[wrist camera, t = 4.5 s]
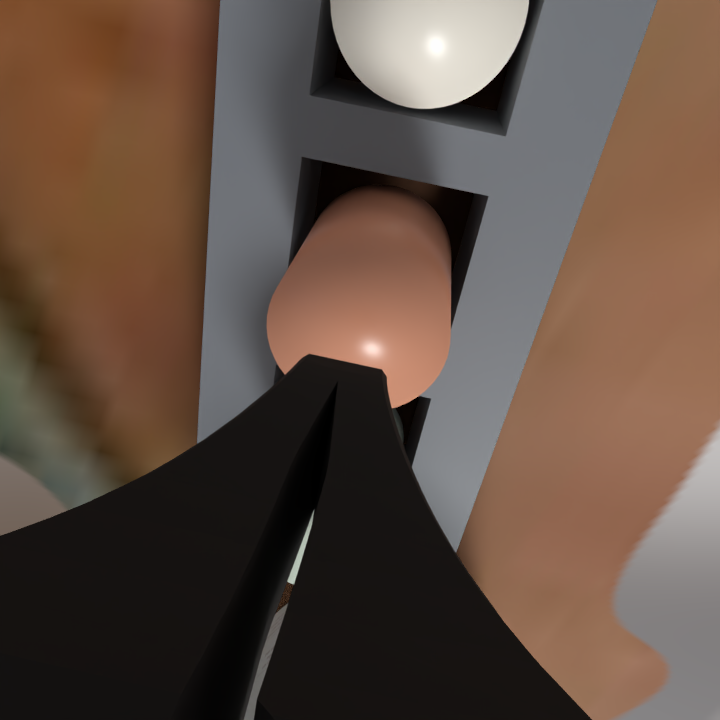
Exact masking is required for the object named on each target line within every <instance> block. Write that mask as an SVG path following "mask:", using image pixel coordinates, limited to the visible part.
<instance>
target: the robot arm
mask: <svg viewBox="0 0 720 720" xmlns="http://www.w3.org/2000/svg"><path fill="white" fill-rule="evenodd" d="M313 511H314V515H313V522H312V526H311V530H310V533H309V536H308V540H307V543H306V547H305V550H304V553H303V557H302V560H301V563H300V566H299V570H298V573H297V576H296V579H295V583H294V586H293V589H292V592H291V596H290V599H289V602H288V605H287V609H286V612H285V615H284V618H283V621H282V624H281V627H280V630H279V633H278V636H277V640H276V643H275V646H274V649H273V652H272V655H271V658H270V661H269V664H268V667H267V670H266V673H265V676H264V679H263V682H262V685H261V688H260V691H259V694H258V697H257V702H256V708H255V715H254V720H592V719H591V718H590V717H589V716H588V715H587V714H586V713H585V712H584V711H583V710H582V709H581V708H580V707H579V706H578V705H577V704H576V702H575V701H574V700H573V699H572V698H571V697H570V696H569V695H568V694H567V693H566V692H565V691H564V690H563V689H562V688H561V687H560V686H559V684H558V683H557V682H556V681H555V680H554V679H553V678H552V677H551V676H550V675H549V674H548V673H547V672H546V671H545V670H544V669H543V668H542V667H541V665H540V664H539V663H538V662H537V661H536V660H535V659H534V658H533V656H532V655H531V654H530V653H529V652H528V650H527V649H526V648H525V647H524V646H523V644H522V643H521V642H520V641H519V640H518V638H517V637H516V636H515V635H514V633H513V632H512V631H511V630H510V629H509V627H508V626H507V625H506V624H505V623H504V621H503V620H502V618H501V617H500V616H499V614H498V613H497V612H496V610H495V609H494V607H493V606H492V605H491V603H490V602H489V600H488V599H487V598H486V596H485V595H484V594H483V592H482V591H481V589H480V588H479V587H478V585H477V584H476V583H475V581H474V580H473V578H472V577H471V576H470V574H469V573H468V571H467V570H466V568H465V567H464V565H463V563H462V562H461V560H460V559H459V557H458V555H457V554H456V552H455V551H454V549H453V547H452V546H451V544H450V543H449V541H448V539H447V537H446V536H445V534H444V532H443V530H442V529H441V527H440V525H439V523H438V521H437V520H436V518H435V516H434V514H433V512H432V510H431V508H430V506H429V504H428V502H427V500H426V498H425V496H424V494H423V492H422V490H421V487H420V485H419V483H418V481H417V478H416V476H415V474H414V472H413V469H412V467H411V464H410V462H409V459H408V457H407V454H406V451H405V448H404V446H403V443H402V440H401V437H400V434H399V431H398V428H397V425H396V422H395V418H394V415H393V411H392V407H391V403H390V398H389V393H388V387H387V376H386V375H385V373H384V372H383V370H382V369H378V368H373V367H369V366H364V365H359V364H355V363H350V362H345V361H341V360H336V359H332V358H327V357H322V356H318V355H313V354H308V355H306V356H304V357H302V358H301V359H300V360H299V361H298V362H297V363H296V364H295V365H294V366H293V367H292V368H291V369H290V370H289V371H288V372H287V373H286V374H285V375H284V376H283V377H282V378H281V379H280V380H279V381H278V382H277V383H276V384H274V385H273V386H272V387H271V388H270V389H269V390H268V391H267V392H265V393H264V394H263V395H262V396H261V397H259V398H258V399H257V400H256V401H254V402H253V403H252V404H251V405H250V406H248V407H247V408H246V409H245V410H244V411H242V412H241V413H240V414H238V415H237V416H236V417H235V418H233V419H232V420H230V421H229V422H228V423H226V424H225V425H223V426H222V427H221V428H219V429H218V430H216V431H215V432H214V433H212V434H211V435H209V436H208V437H207V438H205V439H204V440H202V441H201V442H199V443H198V444H196V445H195V446H193V447H192V448H190V449H189V450H187V451H185V452H184V453H182V454H181V455H179V456H177V457H176V458H174V459H172V460H170V461H169V462H167V463H165V464H164V465H162V466H160V467H158V468H157V469H155V470H153V471H151V472H149V473H148V474H146V475H144V476H142V477H140V478H138V479H136V480H134V481H132V482H130V483H128V484H126V485H124V486H122V487H119V488H117V489H115V490H113V491H111V492H109V493H107V494H105V495H103V496H100V497H98V498H96V499H94V500H92V501H90V502H88V503H85V504H83V505H81V506H78V507H76V508H73V509H71V510H68V511H66V512H63V513H61V514H58V515H56V516H53V517H51V518H48V519H46V520H43V521H40V522H37V523H35V524H32V525H29V526H27V527H24V528H21V529H18V530H16V531H13V532H10V533H7V534H4V535H1V536H0V720H244V717H245V714H246V710H247V706H248V703H249V699H250V695H251V692H252V688H253V684H254V680H255V677H256V673H257V669H258V666H259V662H260V658H261V655H262V651H263V648H264V645H265V642H266V639H267V636H268V633H269V630H270V627H271V624H272V621H273V618H274V616H275V613H276V610H277V608H278V605H279V602H280V600H281V597H282V594H283V592H284V589H285V586H286V584H287V581H288V578H289V576H290V573H291V570H292V568H293V565H294V562H295V560H296V557H297V554H298V552H299V549H300V546H301V544H302V541H303V538H304V536H305V533H306V530H307V527H308V525H309V522H310V519H311V517H312V514H313Z"/></svg>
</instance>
